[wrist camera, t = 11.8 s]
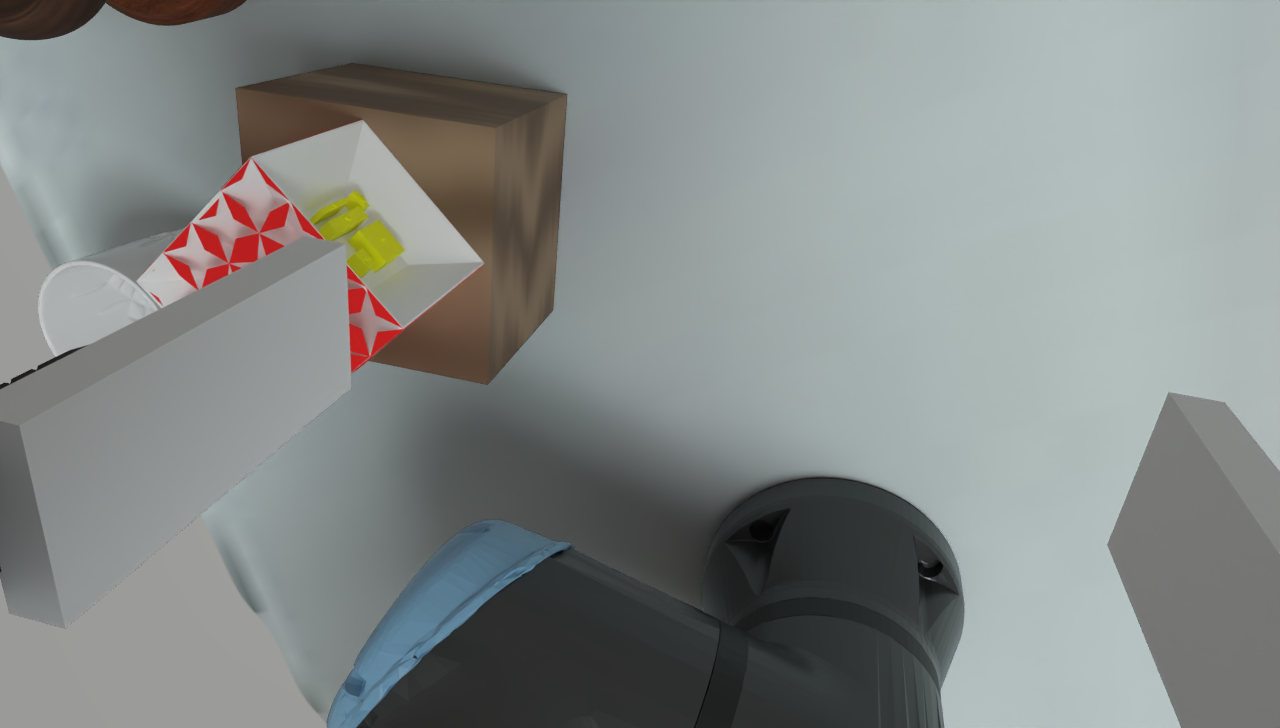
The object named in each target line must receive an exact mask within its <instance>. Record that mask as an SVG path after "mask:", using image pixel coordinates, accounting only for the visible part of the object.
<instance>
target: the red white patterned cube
mask: <svg viewBox="0 0 1280 728" xmlns="http://www.w3.org/2000/svg"><path fill="white" fill-rule="evenodd" d="M304 236H306V237H311V238H317V239H322V240H328V241H333V242H339V243H345V244H346V261H347V285H348V309H349V333H350V357H351V374H352V373H353V372H354V371H356V370H357V369H359V368H360V367H361V366H362V365H364V364H365V363H366V362H367V361H368V360H370V359H371V358H372V357H373V356H374V355H375V354H376V353H378V352H379V351H380V350H381V349H382V348H384V347H385V346H386V345H387V344H388V343H390V342H391V341H392V340H393V339H394V338H396V337H397V336H398V335H399V334H400V333H402V332H403V331H404V330H405V329H406V328H408V327H409V326H410V325H411V324H412V323H414V322H415V321H416V320H417V319H418V318H420V317H421V316H422V315H423V314H424V313H426V312H427V311H428V310H429V309H430V308H432V307H433V306H434V305H435V304H436V303H438V302H439V301H440V300H441V299H442V298H444V297H445V296H446V295H447V294H448V293H450V292H451V291H452V290H453V289H454V288H456V287H457V286H459V285H460V284H461V283H462V282H463V281H465V280H466V279H467V278H468V277H469V276H471V275H472V274H473V273H474V272H475V271H477V270H478V269H479V268H480V267H481V266H483V264H484V262H483V261H482V259H481V258H480V257H479V256H478V255H477V253H476V252H475V251H474V250H473V249H472V248H471V246H470V245H469V244H468V243H467V242H466V241H465V239H464V238H463V237H462V236H461V235H460V233H459V232H458V231H457V230H456V229H455V228H454V226H453V225H452V224H451V223H450V222H449V220H448V219H447V218H446V217H445V216H444V215H443V213H442V212H441V211H440V210H439V209H438V207H437V206H436V205H435V204H434V203H433V202H432V200H431V199H430V198H429V197H428V196H427V195H426V193H425V192H424V191H423V190H422V189H421V187H420V186H419V185H418V184H417V183H416V182H415V180H414V179H413V178H412V177H411V176H410V174H409V173H408V172H407V171H406V170H405V169H404V167H403V166H402V165H401V164H400V163H399V161H398V160H397V159H396V158H395V157H394V156H393V154H392V153H391V152H390V151H389V150H388V149H387V147H386V146H385V145H384V144H383V143H382V141H381V140H380V139H379V138H378V137H377V136H376V134H375V133H374V132H373V131H372V130H371V128H370V127H369V126H368V125H367V124H366V123H365V121H364V120H359V121H356V122H353V123H350V124H347V125H344V126H341V127H339V128H335V129H332V130H329V131H326V132H323V133H319V134H316V135H313V136H312V137H311V136H310V137H307V138H304V139H301V140H298V141H295V142H292V143H289V144H286V145H284V146H282V147H281V146H280V147H277V148H274V149H271V150H268V151H265V152H262V153H259V154H256V155H253V156H251V157H250V158H249V159H248V160H247V161H246V162H245V163H244V164H243V165H242V166H241V167H240V168H239V170H238V171H237V172H236V173H235V174H234V175H233V176H232V177H231V178H230V179H229V180H228V182H227V183H226V184H225V185H224V186H223V188H222V189H221V190H220V191H219V192H218V193H217V194H216V195H215V196H214V197H213V198H212V200H211V201H210V202H209V203H208V204H207V205H206V206H205V207H204V208H203V209H202V210H201V211H200V213H199V214H198V215H197V216H196V217H195V218H194V219H193V220H192V221H191V222H190V223H189V224H188V225H187V227H186V228H185V229H184V230H183V231H182V232H181V233H180V234H179V235H178V236H177V237H176V238H175V240H174V241H173V242H172V243H171V244H170V245H169V246H168V247H167V248H166V249H165V250H164V251H163V253H161V254H160V255H159V256H158V257H157V258H156V259H155V260H154V261H153V262H152V263H151V264H150V265H149V267H148V268H147V269H146V270H145V271H144V272H143V273H142V275H141V276H140V277H139V279H138V280H137V281H136V282H137V283H138V284H139V285H140V286H141V287H142V288H143V289H144V290H145V291H146V293H147V294H148V295H149V296H150V297H151V298H152V299H153V300H154V301H155V302H156V303H157V304H158V305H159V306H160V307H161V308H163V307H165V306H167V305H169V304H171V303H173V302H175V301H177V300H179V299H181V298H183V297H185V296H187V295H189V294H191V293H193V292H195V291H197V290H199V289H201V288H203V287H205V286H207V285H209V284H211V283H213V282H215V281H217V280H219V279H221V278H223V277H225V276H227V275H229V274H231V273H233V272H235V271H237V270H239V269H241V268H243V267H245V266H247V265H249V264H251V263H253V262H255V261H257V260H259V259H261V258H263V257H264V256H266V255H268V254H270V253H272V252H274V251H276V250H278V249H280V248H282V247H284V246H286V245H288V244H290V243H292V242H294V241H296V240H298V239H300V238H302V237H304Z"/></svg>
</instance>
